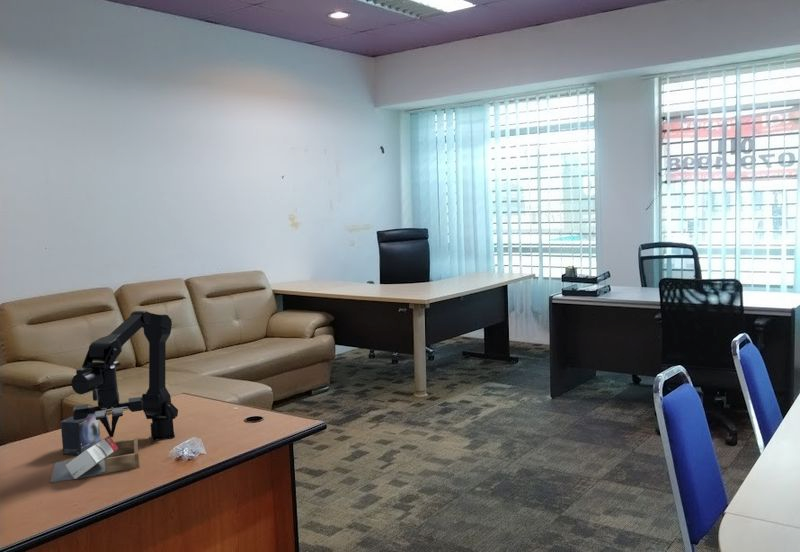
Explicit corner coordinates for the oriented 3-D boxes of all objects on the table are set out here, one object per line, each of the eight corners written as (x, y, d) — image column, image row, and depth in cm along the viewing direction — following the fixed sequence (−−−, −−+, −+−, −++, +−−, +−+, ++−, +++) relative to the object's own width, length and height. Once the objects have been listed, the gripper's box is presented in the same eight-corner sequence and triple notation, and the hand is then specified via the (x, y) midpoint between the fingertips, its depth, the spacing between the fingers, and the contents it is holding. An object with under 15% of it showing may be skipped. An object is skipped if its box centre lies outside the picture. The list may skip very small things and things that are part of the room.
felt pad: (106, 455, 215) (106, 454, 215) (105, 473, 200) (105, 472, 200) (55, 463, 210) (55, 462, 210) (50, 483, 195) (50, 482, 195)
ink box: (109, 434, 206) (86, 449, 194) (119, 448, 206) (97, 463, 194) (87, 450, 207) (63, 465, 196) (97, 464, 207) (74, 480, 196)
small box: (81, 455, 216) (77, 422, 214) (62, 455, 217) (58, 421, 216) (102, 443, 226) (99, 411, 225) (84, 443, 227) (81, 411, 226)
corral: (138, 450, 217) (137, 438, 217) (139, 467, 203) (138, 453, 203) (106, 456, 214) (105, 443, 214) (105, 473, 200) (104, 459, 200)
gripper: (140, 374, 216) (145, 423, 218) (73, 382, 210) (78, 433, 212) (141, 382, 206) (145, 434, 208) (70, 391, 199) (75, 445, 201)
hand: (111, 436), depth 207 cm, fingers closed
